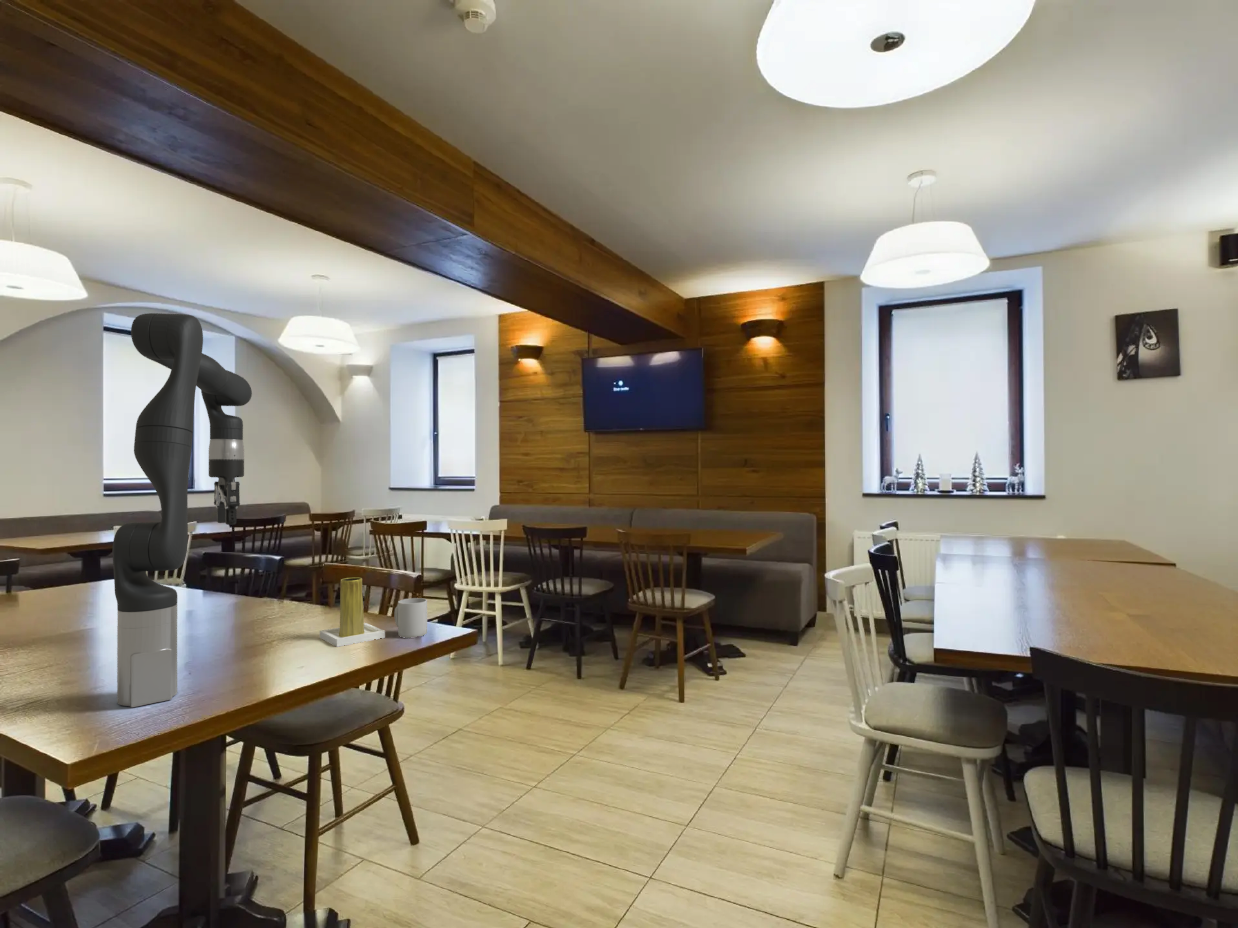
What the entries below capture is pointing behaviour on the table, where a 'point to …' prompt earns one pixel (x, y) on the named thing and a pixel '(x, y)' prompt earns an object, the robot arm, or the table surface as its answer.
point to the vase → (351, 607)
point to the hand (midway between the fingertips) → (226, 523)
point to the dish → (337, 641)
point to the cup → (411, 617)
